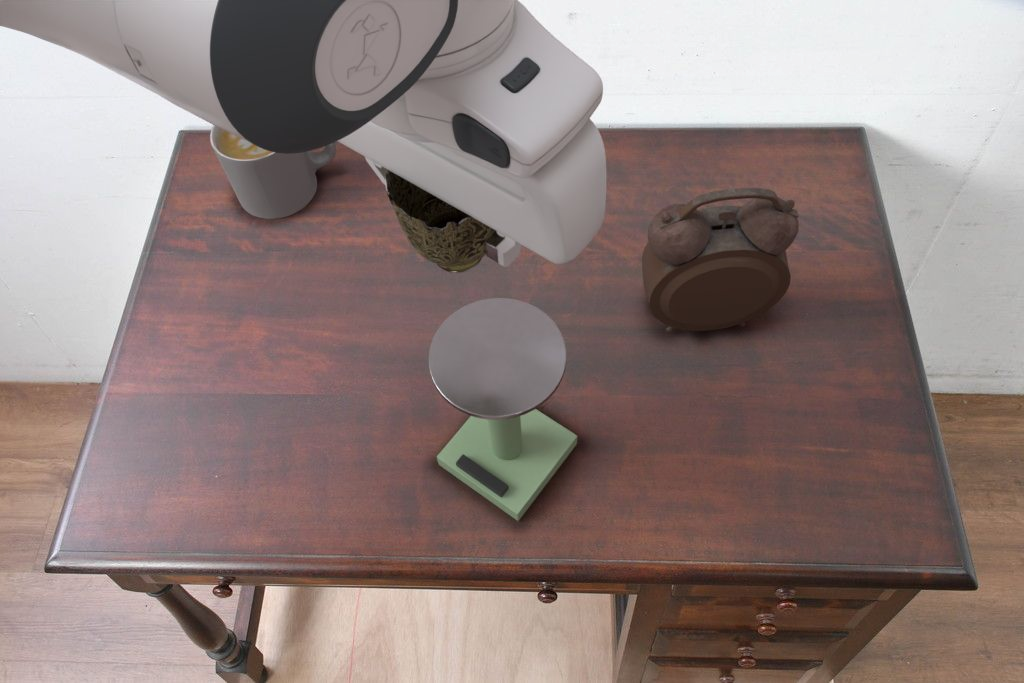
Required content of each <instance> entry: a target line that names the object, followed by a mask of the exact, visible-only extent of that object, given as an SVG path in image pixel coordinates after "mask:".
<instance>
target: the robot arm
mask: <svg viewBox="0 0 1024 683" xmlns="http://www.w3.org/2000/svg"><path fill="white" fill-rule="evenodd" d="M0 27H1V28H2V27H3V28H7V29H10V30H13V31H18V32H20V33H25V34H27V35H30V36H33V37H35V38H38V39H41V40H43V41H45V42H49V43H50V44H53V45H56V46H59V47H62V48H64V49H67V50H68V51H71V52H74V53H76V54H78V55H81V56H82V57H84V58H87V59H89V60H91V61H92V62H94V63H96V64H99V65H100V66H102V67H104V68H106V69H108V70H109V71H112V72H114V73H116V74H118V75H120V76H122V77H123V78H125V79H127V80H129V81H131V82H133V83H135V84H137V85H138V86H140V87H142V88H144V89H147V90H148V91H150V92H152V93H154V94H156V95H158V96H160V97H161V98H163V99H164V100H166V101H168V102H169V103H171V104H172V105H174V106H176V107H177V108H180V109H182V110H183V111H185V112H188V113H190V114H192V115H194V116H195V117H198V118H199V119H201V120H203V121H205V122H207V123H209V124H211V125H212V126H213V125H215V126H217V127H219V128H221V129H223V130H225V131H227V132H229V133H231V134H233V135H235V136H237V137H239V138H242V139H244V140H246V141H248V142H251V143H252V144H254V145H256V146H258V147H260V148H262V149H264V150H268V151H271V152H276V153H283V154H294V153H302V152H307V151H314V150H319V149H321V148H325V146H327V145H329V144H332V143H334V142H335V143H336V142H338V143H340V144H341V145H344V147H347V148H349V149H350V150H352V151H354V152H356V153H357V154H359V155H361V156H363V157H364V158H365V161H366V163H367V164H368V165H369V167H371V169H372V171H373V172H374V174H375V175H376V176H377V177H378V178H379V180H380V181H381V183H382V184H383V185H384V186H385V190H386V191H388V190H387V183H386V177H385V173H388V171H387V170H389V171H391V172H393V173H395V174H397V175H398V176H400V177H402V178H404V179H405V180H407V181H409V182H411V183H413V184H414V185H416V186H418V187H420V188H421V189H423V190H425V191H427V192H429V193H430V194H432V195H434V196H436V197H437V198H439V199H441V200H443V201H445V202H446V203H448V204H450V205H452V206H453V207H455V208H457V209H459V210H461V211H462V212H464V213H466V214H468V215H469V216H471V217H473V218H475V219H477V220H478V221H480V222H482V223H484V224H485V225H487V226H489V227H491V228H492V229H494V230H496V234H494V235H492V236H491V237H490V238H489V239H487V241H486V242H485V247H486V250H487V253H486V255H485V256H486V257H487V258H489V259H490V260H492V261H493V262H494V263H497V264H498V265H500V266H501V267H504V268H505V269H506V268H508V267H509V266H510V265H512V263H513V262H514V261H515V260H516V259H517V258H518V257H519V255H520V253H521V251H522V246H523V247H524V248H526V249H528V250H530V251H532V252H534V253H535V254H537V255H538V256H540V257H542V258H544V259H545V260H547V261H549V262H551V263H553V264H555V265H563V264H566V263H570V262H571V261H573V260H574V259H576V258H577V257H578V256H579V255H581V253H582V252H583V251H584V250H585V249H586V248H587V247H588V245H590V243H591V242H592V241H593V239H594V238H595V237H596V235H597V234H598V233H599V231H600V229H601V228H602V226H603V224H604V221H605V217H606V206H607V187H608V186H607V184H608V183H607V182H608V180H607V176H608V175H607V174H608V173H607V157H606V156H607V154H606V149H605V144H604V140H603V138H602V135H601V133H600V131H599V129H598V127H597V126H596V124H595V123H594V122H593V120H592V119H591V117H592V116H593V115H594V113H595V112H596V110H597V109H598V107H599V105H600V104H601V102H602V99H603V94H604V84H603V80H602V77H601V76H600V74H599V73H598V72H597V71H596V70H595V68H593V66H591V65H589V64H588V62H586V61H584V59H582V58H581V57H580V56H578V55H577V54H576V53H574V51H572V50H571V49H570V48H569V47H567V46H566V45H565V44H564V43H562V42H561V40H559V39H558V38H556V37H555V36H554V35H553V34H552V33H551V31H549V30H548V29H547V28H546V27H545V26H544V25H542V23H540V21H539V20H537V18H536V17H535V16H534V15H533V14H532V13H531V12H530V11H529V10H528V8H527V7H526V6H525V5H524V4H523V3H522V2H520V1H519V0H0ZM388 194H389V193H388ZM387 198H388V199H389V197H388V196H387Z"/></svg>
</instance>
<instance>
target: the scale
mask: <svg viewBox="0 0 1024 683" xmlns="http://www.w3.org/2000/svg"><path fill="white" fill-rule="evenodd" d="M577 445H578V435H576V433H574V432H572V431H571V430H569V429H568V428H566V427H564V426H563V425H561V424H560V423H559V422H557V421H555V420H553V419H552V418H551V417H549V416H547V414H544V413H543V412H542V411H540V410H538V408H536V409H535V410H533V411H531V412H529V413H527V414H524V415H521V416H519V417H515V418H510V419H503V420H487V419H481V418H477V417H473V416H469V417H468V419H467V420H466V421H465V422H464V423H463V425H461V427H460V428H459V430H458V431H457V432H456V433H455V434H454V435H453V436H452V438H450V440H449V441H448V442H447V443H446V445H445V446H444V447H443V448H442V450H441V451H440V452H439V453H438V454H437V455H436V461H437V463H438V465H439V466H440V468H443V469H444V470H445V471H447V472H448V473H449V474H451V475H452V476H454V478H455V477H456V478H457V479H458V480H459V481H460V482H462V483H463V484H465V485H466V486H468V487H469V488H471V489H472V490H474V491H475V492H477V493H478V494H479V495H481V497H484V498H485V499H486V500H488V501H489V502H490V503H492V504H493V505H495V506H496V507H497V508H498V509H500V510H502V511H503V512H504V513H506V514H507V515H508V516H510V517H511V518H513V519H514V520H516V521H517V522H519V521H520V520H521V519H522V517H523V516H524V515H525V513H526V512H527V511H528V509H529V508H530V507H531V505H532V504H533V502H534V501H535V500H536V499H537V498H538V496H539V495H540V494H541V492H542V491H543V490H544V488H545V487H546V486H547V484H548V483H549V482H550V480H551V479H552V477H553V476H554V475H555V474H556V472H557V471H558V470H559V469H560V467H561V466H562V464H563V463H564V462H565V461H566V459H567V458H568V457H569V456H570V454H571V452H572V451H573V450H574V448H575V447H576V446H577Z"/></svg>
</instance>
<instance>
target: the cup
mask: <svg viewBox="0 0 1024 683" xmlns="http://www.w3.org/2000/svg"><path fill="white" fill-rule="evenodd" d="M387 171H388V173H385V177H386V183H387V190H388V191H387V190H386V192H385V193H386V195H387V198H388V197H389V198H388V201H389V202H390V204H391V206H392V209H393V211H394V213H395V216H396V219H397V221H398V223H399V225H400V227H401V229H402V232H403V234H404V236H405V238H406V239H407V241H408V242H409V244H410V246H411V247H412V248H413V249H414V251H415V252H416V253H418V254H419V255H420V256H421V257H423V258H424V259H425V260H427V261H428V262H431V263H433V264H436V265H437V266H438V267H439V268H440V269H441V270H443V271H445V272H448V273H452V274H462V273H466V272H470V271H471V270H473V269H475V268H476V267H477V266H478V265H479V264H480V262H481V261H482V259H483V257H485V256H486V253H487V250H486V247H485V242H486V241H487V239H489V238H490V237H491V236H492V235H494V234H496V230H494V229H492V228H491V227H489V226H487V225H485V224H484V223H482V222H480V221H478V220H477V219H475V218H473V217H471V216H469V215H468V214H466V213H464V212H462V211H461V210H459V209H457V208H455V207H453V206H452V205H450V204H448V203H446V202H445V201H443V200H441V199H439V198H437V197H436V196H434V195H432V194H430V193H429V192H427V191H425V190H423V189H421V188H420V187H418V186H416V185H414V184H413V183H411V182H409V181H407V180H405V179H404V178H402V177H400V176H398V175H397V174H395V173H393V172H391V171H389V170H387ZM388 193H389V194H388Z"/></svg>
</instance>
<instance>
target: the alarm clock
mask: <svg viewBox="0 0 1024 683" xmlns="http://www.w3.org/2000/svg"><path fill="white" fill-rule="evenodd" d="M740 199H741V200H744V199H750V200H748V201H747V202H746V203H744V204H743V205H742V206H739V205H738V206H737V205H720V206H711V207H706V208H701V207H702V206H705V205H709V204H712V203H713V204H714V203H717V202H722V201H723V202H724V201H731V200H740ZM795 205H796V202H795V201H794V200H793V199H787V200H786V201H785V199H783V198H781V197H779V196H778V195H777V193H776V192H775V191H774V190H772V189H768V188H761V187H740V188H738V187H737V188H727V189H720V190H714V191H709V192H706V193H702V194H699V195H697V196H695V197H693V198H691V200H690V201H689V202H687V203H686V204H685V203H674V204H670V205H667V206H665V207H663V208H662V209H660V210H659V211H658V212H657V213H655V215H654V216H653V217H652V219H651V221H650V222H649V225H648V228H647V240H648V241H647V243H646V245H645V246H644V249H643V251H642V255H641V270H642V271H641V272H642V284H643V289H644V293H645V297H646V298H647V301H648V305H649V309H650V312H651V313H652V315H653V316H654V317H655V319H657V321H659V322H660V323H662V324H664V325H666V326H667V327H666V328H665V331H666V332H667V333H672V332H673V329H676V330H682V331H690V332H691V331H692V332H702V331H703V332H705V331H706V332H708V331H715V330H721V329H726V328H730V327H735V326H737V325H739V326H740V327H742V328H743V327H744V326H746V322H748V321H750V320H753V319H755V318H757V317H759V316H761V315H762V314H764V313H766V312H767V311H769V310H770V309H772V308H773V307H774V306H775V305H777V304H778V303H779V301H781V300H782V298H783V297H784V296H785V294H787V291H788V289H789V287H790V284H791V278H792V277H791V272H790V268H789V261H788V256H787V252H786V251H787V250H788V249H789V248H790V247H791V245H792V244H793V243H794V241H795V239H796V238H797V236H798V233H799V230H800V228H799V226H800V225H799V224H800V223H799V219H798V218H800V215H799V213H798V210H797V209H794V208H795ZM698 208H701V209H698Z"/></svg>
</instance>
